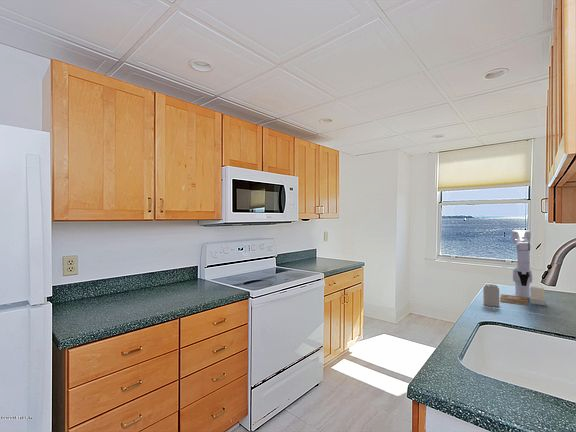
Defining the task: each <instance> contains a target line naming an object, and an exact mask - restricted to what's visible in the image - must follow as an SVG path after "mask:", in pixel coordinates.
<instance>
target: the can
mask: <svg viewBox="0 0 576 432" xmlns="http://www.w3.org/2000/svg"><path fill="white" fill-rule="evenodd" d="M482 289H483V291H482V292H483V295H482V296H483V305H485V306H486V307H488V308H498V307H500V288H499V287H498V285H497V284H493V283H492V284H489V283H485V284H484V286H483V288H482Z"/></svg>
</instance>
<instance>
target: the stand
mask: <svg viewBox="0 0 576 432" xmlns="http://www.w3.org/2000/svg"><path fill="white" fill-rule="evenodd" d="M546 301H547V300H546V299H545V298H544V301H543V300H535V299H531V298H529V304H532V305H540V306H546V304H547V303H546Z"/></svg>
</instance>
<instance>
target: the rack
mask: <svg viewBox="0 0 576 432" xmlns="http://www.w3.org/2000/svg"><path fill="white" fill-rule="evenodd" d="M507 297H515V298H520V300H517V299H509V298H507ZM528 299H529V298H528V297H521V296H515V295H513V294H512V295H510V294H505V293H504V294H503V293H502V294H500V296H499V303H507V304H516V305H524V306H529V300H528Z"/></svg>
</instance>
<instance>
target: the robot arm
mask: <svg viewBox="0 0 576 432" xmlns="http://www.w3.org/2000/svg"><path fill="white" fill-rule="evenodd" d="M531 237H532V236H531V230H530V229H529V230H528V229H527V230H525V229H512V230H511V239H512V240H511V242H512V244H514V245H515V246H516V249H515V250H516V255H517V257H516V258H517V259H516V260H517V265H516V266H517V267H516V268H513V270H512V281H513V282H514V283H515V286H514V287H515V290H514V291H515V293H514V296H521V297H528V299H530V298H531V286H530V285H531V284H532V283H533V274H532V270H531V269H530V268H531V267H530V252H531Z"/></svg>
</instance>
